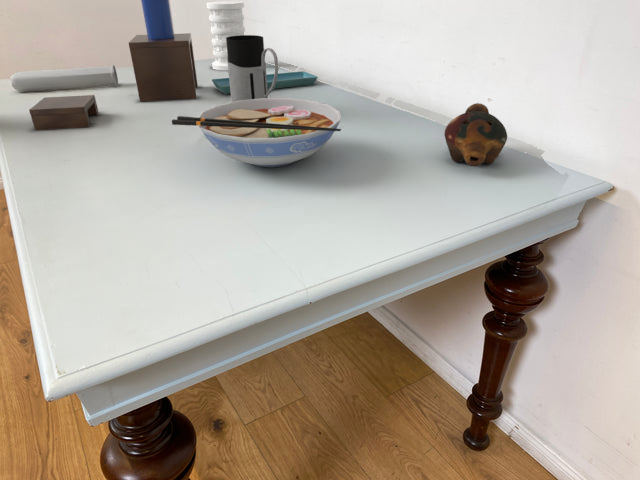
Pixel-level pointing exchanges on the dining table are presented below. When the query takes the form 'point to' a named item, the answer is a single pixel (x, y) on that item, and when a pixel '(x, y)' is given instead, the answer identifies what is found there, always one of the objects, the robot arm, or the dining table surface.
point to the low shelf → (63, 112)
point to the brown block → (164, 67)
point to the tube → (64, 79)
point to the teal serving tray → (282, 81)
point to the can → (158, 19)
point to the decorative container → (224, 28)
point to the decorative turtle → (475, 136)
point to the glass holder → (248, 67)
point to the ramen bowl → (267, 129)
